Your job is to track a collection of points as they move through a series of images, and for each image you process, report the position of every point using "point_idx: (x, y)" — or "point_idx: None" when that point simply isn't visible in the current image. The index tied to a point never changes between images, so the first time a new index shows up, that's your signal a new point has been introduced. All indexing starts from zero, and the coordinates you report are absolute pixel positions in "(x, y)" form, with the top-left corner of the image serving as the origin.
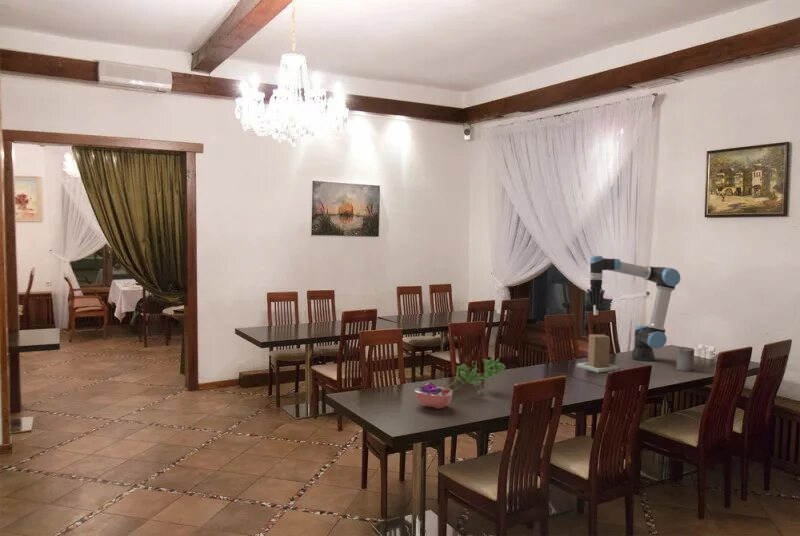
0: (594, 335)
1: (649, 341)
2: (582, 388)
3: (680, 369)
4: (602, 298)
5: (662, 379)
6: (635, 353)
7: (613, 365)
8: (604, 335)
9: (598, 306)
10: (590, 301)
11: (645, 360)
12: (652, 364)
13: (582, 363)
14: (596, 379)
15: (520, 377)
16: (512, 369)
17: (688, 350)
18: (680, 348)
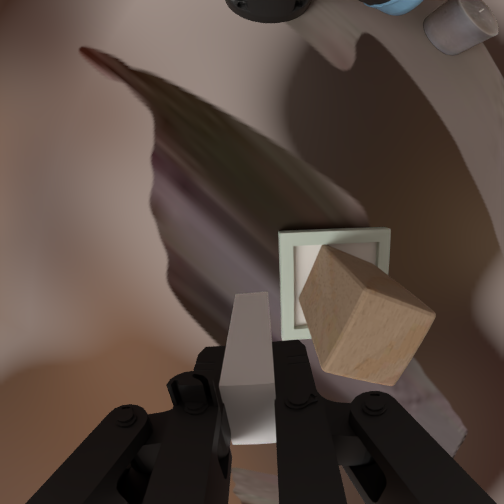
0: (363, 364)
1: (399, 13)
2: (430, 428)
3: (450, 54)
4: (476, 495)
5: (497, 207)
6: (266, 8)
7: (370, 235)
8: (395, 311)
9: (313, 388)
10: (134, 483)
11: (304, 11)
12: (357, 36)
13: (291, 322)
14: (416, 374)
15: None
16: (234, 469)
17: (497, 31)
18: (477, 20)
